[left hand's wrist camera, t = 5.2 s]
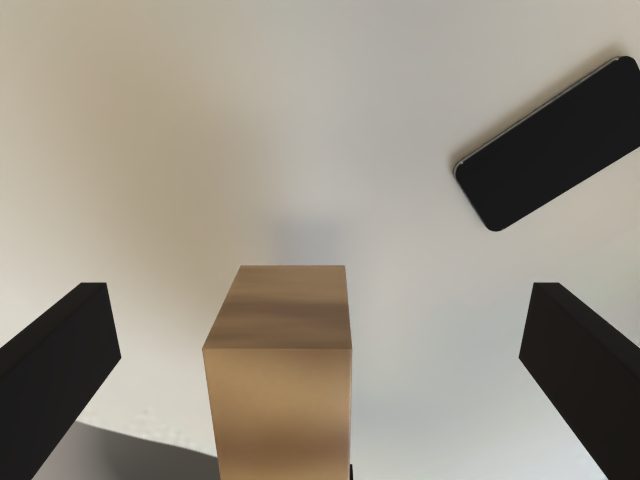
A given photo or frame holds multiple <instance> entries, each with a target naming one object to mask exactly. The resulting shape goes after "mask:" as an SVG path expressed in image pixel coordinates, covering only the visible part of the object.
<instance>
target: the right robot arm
mask: <svg viewBox="0 0 640 480" xmlns="http://www.w3.org/2000/svg"><path fill="white" fill-rule="evenodd" d="M349 480H353V469H352V464H350V478H349Z"/></svg>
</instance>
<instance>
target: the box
mask: <svg viewBox="0 0 640 480" xmlns="http://www.w3.org/2000/svg"><path fill="white" fill-rule="evenodd" d="M202 351H203V358H204V365H205V372H206V379H207V386H208V393H209V400H210V407H211V414H212V421H213V428H214V435H215V442H216V449H217V456H218V463H219V470H220V477H221V480H349V478H350V429H351V380H352V341H351V330H350V318H349V306H348V295H347V283H346V271H345V266H344V265H337V266H240V268H239V271H238V273H237V275H236V277H235V279H234V281H233V283H232V286H231V288H230V290H229V292H228V294H227V296H226V298H225V301H224V303H223V305H222V307H221V309H220V311H219V313H218V315H217V318H216V320H215V322H214V324H213V326H212V328H211V330H210V333H209V335H208V337H207V339H206V341H205V343H204V345H203V348H202Z"/></svg>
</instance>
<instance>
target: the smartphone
mask: <svg viewBox="0 0 640 480" xmlns="http://www.w3.org/2000/svg"><path fill="white" fill-rule="evenodd" d="M638 147H640V70H639V68H638V65H637V63H636V61H635V60H634V59H633V58H631V57H629V56H620V57H616V58H614V59H612V60H611V61H609V62H608V63H606V64H605V65H603V66H602V67H600V68H599V69H597V70H596V71H594V72H593V73H591V74H590V75H588V76H587V77H585V78H584V79H582V80H581V81H579V82H578V83H576V84H575V85H573V86H572V87H570V88H569V89H567V90H566V91H564V92H563V93H561V94H560V95H558V96H557V97H555V98H554V99H552V100H551V101H549V102H548V103H546V104H545V105H543V106H542V107H540V108H539V109H537V110H536V111H534V112H533V113H531V114H530V115H528V116H527V117H526V118H524V119H523V120H521V121H520V122H518V123H517V124H515V125H514V126H512V127H511V128H509V129H508V130H506V131H505V132H503V133H502V134H500V135H499V136H497V137H496V138H494V139H493V140H491V141H490V142H488V143H487V144H485V145H484V146H482V147H481V148H479V149H478V150H476V151H475V152H473V153H472V154H470V155H469V156H467V157H466V158H464V159H463V160H461V161H460V162H459V163H458V164H457V165H456V167H455V169H454V177H455V179H456V181H457V183H458V184H459V186H460V187H461V189H462V191H463V192H464V194H465V195H466V197H467V198H468V200H469V202H470V203H471V205H472V206H473V208H474V209H475V211H476V213H477V214H478V216H479V217H480V219H481V221H482V222H483V224H484V225H485V226H486V227H487V228H488V229H489V230H491V231H501V230H503V229H505V228H507V227H508V226H510V225H511V224H513V223H515V222H516V221H518V220H520V219H521V218H523V217H525V216H526V215H528V214H530V213H531V212H533V211H534V210H536V209H538V208H539V207H541V206H543V205H544V204H546V203H548V202H549V201H551V200H553V199H554V198H556V197H558V196H559V195H561V194H562V193H564V192H566V191H567V190H569V189H571V188H572V187H574V186H576V185H577V184H579V183H581V182H582V181H584V180H585V179H587V178H589V177H590V176H592V175H594V174H595V173H597V172H599V171H600V170H602V169H604V168H605V167H607V166H609V165H610V164H612V163H613V162H615V161H617V160H618V159H620V158H622V157H623V156H625V155H627V154H628V153H630V152H632V151H633V150H635V149H637V148H638Z"/></svg>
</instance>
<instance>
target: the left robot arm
mask: <svg viewBox="0 0 640 480" xmlns="http://www.w3.org/2000/svg"><path fill="white" fill-rule="evenodd" d="M120 359H121V354H120V349H119V344H118V339H117V334H116V329H115V324H114V319H113V314H112V309H111V304H110V299H109V294H108V289H107V284H106V283H80V284H79V285H78V286H76V287H75V288H74V289H73V290H72V291H70V292H69V293H68V294H67V295H65V296H64V297H63V298H62V299H60V300H59V301H58V302H57V303H55V304H54V305H53V306H52V307H51V308H49V309H48V310H47V311H46V312H44V313H43V314H42V315H41V316H39V317H38V318H37V319H36V320H35V321H33V322H32V323H31V324H30V325H28V326H27V327H26V328H25V329H23V330H22V331H21V332H20V333H19V334H17V335H16V336H15V337H14V338H12V339H11V340H10V341H9V342H7V343H6V344H5V345H4V346H2V347H1V348H0V480H31V479H32V478H33V477H34V475H35V474H36V473H37V471H38V470H39V469H40V467H41V466H42V465H43V463H44V462H45V461H46V459H47V458H48V456H49V455H50V454H51V452H52V451H53V450H54V448H55V447H56V446H57V444H58V443H59V442H60V440H61V439H62V438H63V436H64V435H65V433H66V432H67V431H68V429H69V428H70V427H71V425H72V424H73V423H74V421H75V420H76V419H77V417H78V416H79V415H80V413H81V412H82V410H83V409H84V408H85V406H86V405H87V404H88V402H89V401H90V400H91V398H92V397H93V396H94V394H95V393H96V392H97V390H98V389H99V387H100V386H101V385H102V383H103V382H104V381H105V379H106V378H107V377H108V375H109V374H110V373H111V371H112V370H113V368H114V367H115V366H116V364H117V363H118V362H119V360H120ZM519 359H520V360H521V362H522V363H523V364H524V366H525V367H526V368H527V370H528V371H529V373H530V374H531V375H532V377H533V378H534V379H535V381H536V382H537V383H538V385H539V386H540V387H541V389H542V390H543V392H544V393H545V394H546V396H547V397H548V398H549V400H550V401H551V402H552V404H553V405H554V406H555V408H556V409H557V410H558V412H559V413H560V415H561V416H562V417H563V419H564V420H565V421H566V423H567V424H568V425H569V427H570V428H571V429H572V431H573V432H574V433H575V435H576V436H577V438H578V439H579V440H580V442H581V443H582V444H583V446H584V447H585V448H586V450H587V451H588V452H589V454H590V455H591V456H592V458H593V459H594V461H595V462H596V463H597V465H598V466H599V467H600V469H601V470H602V471H603V473H604V474H605V475H606V477H607V478H608V479H609V480H640V348H639V347H638V346H636V345H635V344H634V343H633V342H631V341H630V340H629V339H628V338H626V337H625V336H624V335H623V334H621V333H620V332H619V331H618V330H617V329H615V328H614V327H613V326H612V325H610V324H609V323H608V322H607V321H605V320H604V319H603V318H602V317H601V316H599V315H598V314H597V313H596V312H594V311H593V310H592V309H591V308H589V307H588V306H587V305H586V304H585V303H583V302H582V301H581V300H580V299H578V298H577V297H576V296H575V295H573V294H572V293H571V292H570V291H568V290H567V289H566V288H565V287H564V286H562V285H561V284H560V283H534V284H533V289H532V294H531V299H530V304H529V309H528V314H527V319H526V324H525V329H524V334H523V339H522V344H521V349H520V354H519Z"/></svg>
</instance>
